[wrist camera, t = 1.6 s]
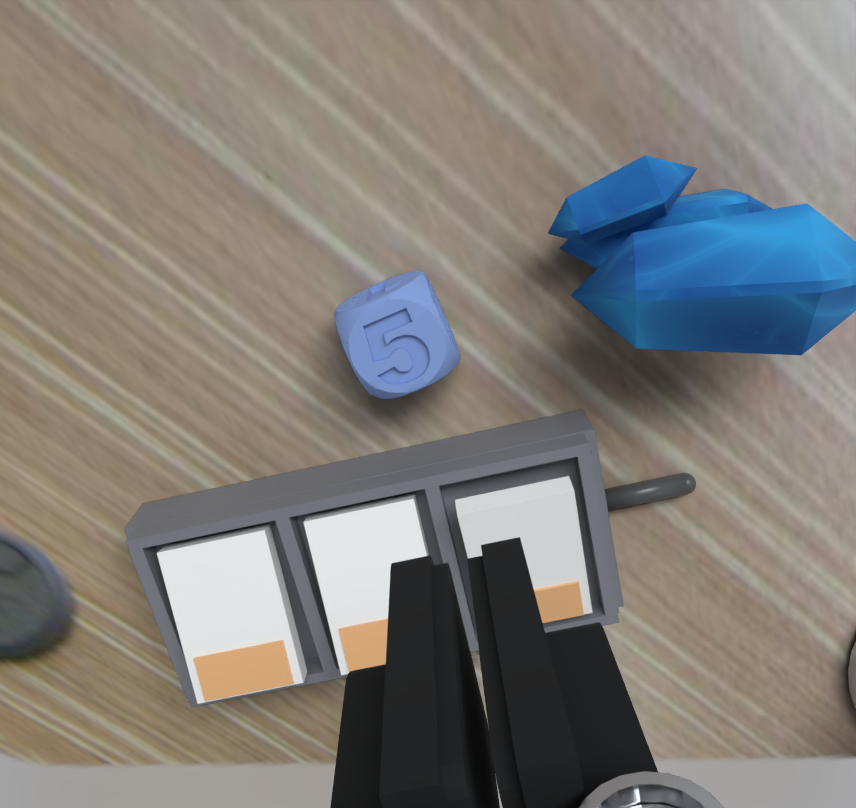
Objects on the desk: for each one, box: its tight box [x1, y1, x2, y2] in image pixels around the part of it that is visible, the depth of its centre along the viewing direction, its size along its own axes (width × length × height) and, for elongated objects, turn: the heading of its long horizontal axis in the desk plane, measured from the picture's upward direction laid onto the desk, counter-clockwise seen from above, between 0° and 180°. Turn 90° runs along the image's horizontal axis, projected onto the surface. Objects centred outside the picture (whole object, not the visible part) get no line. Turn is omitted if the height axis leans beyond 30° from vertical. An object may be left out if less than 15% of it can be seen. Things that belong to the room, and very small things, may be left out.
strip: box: [124, 409, 696, 708], centre depth 36 cm, size 26×9×4 cm, turn 102°
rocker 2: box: [455, 476, 592, 623], centre depth 34 cm, size 5×7×1 cm
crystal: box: [548, 156, 856, 355], centre depth 30 cm, size 7×9×12 cm
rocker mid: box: [303, 493, 429, 675], centre depth 35 cm, size 5×7×1 cm
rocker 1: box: [157, 524, 307, 704], centre depth 35 cm, size 5×7×1 cm
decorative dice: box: [335, 271, 460, 399], centre depth 33 cm, size 4×4×4 cm
